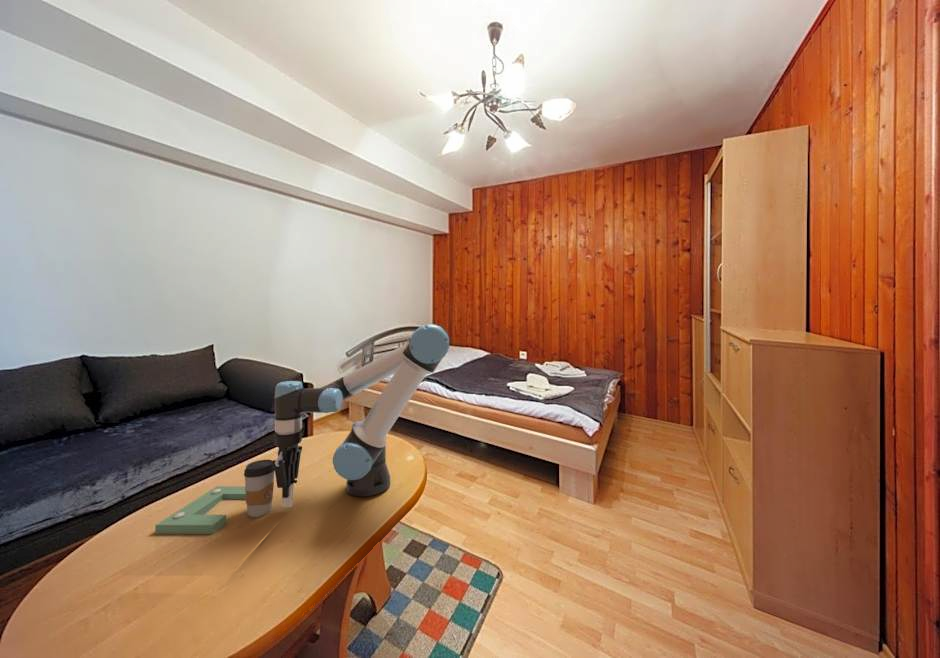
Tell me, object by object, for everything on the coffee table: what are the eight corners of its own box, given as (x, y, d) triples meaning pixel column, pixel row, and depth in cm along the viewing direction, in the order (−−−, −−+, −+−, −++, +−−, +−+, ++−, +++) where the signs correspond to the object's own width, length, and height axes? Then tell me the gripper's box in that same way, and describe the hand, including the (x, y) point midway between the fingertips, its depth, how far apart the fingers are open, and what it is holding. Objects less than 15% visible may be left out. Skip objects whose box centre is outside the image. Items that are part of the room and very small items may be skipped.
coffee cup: (259, 521, 96) (260, 471, 96) (236, 517, 98) (236, 468, 98) (281, 506, 104) (281, 460, 104) (259, 503, 106) (259, 457, 106)
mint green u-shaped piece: (262, 493, 112) (262, 484, 112) (212, 534, 90) (212, 523, 90) (216, 493, 112) (216, 484, 112) (155, 533, 90) (155, 522, 90)
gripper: (288, 424, 108) (287, 495, 108) (263, 437, 95) (262, 517, 95) (310, 424, 108) (309, 495, 108) (288, 438, 95) (288, 518, 95)
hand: (287, 505), depth 101 cm, fingers closed
